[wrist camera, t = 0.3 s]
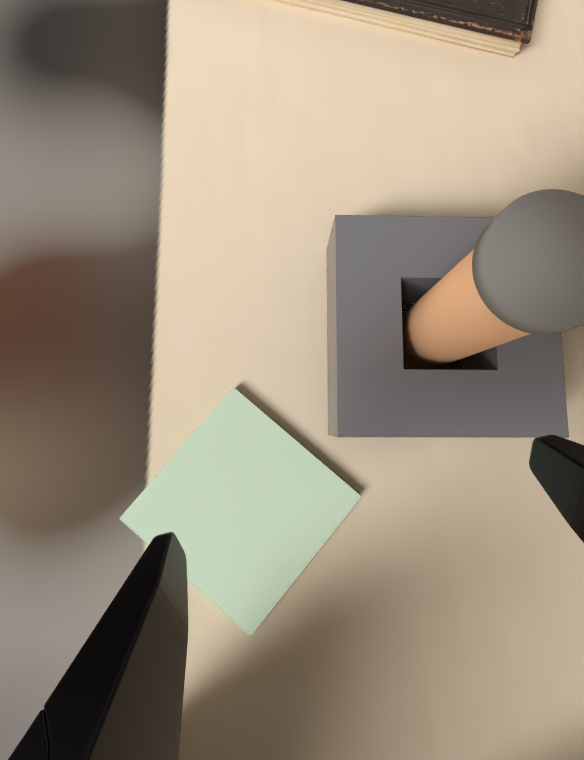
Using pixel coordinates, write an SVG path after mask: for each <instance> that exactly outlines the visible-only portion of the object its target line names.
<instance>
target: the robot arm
mask: <svg viewBox="0 0 584 760" xmlns="http://www.w3.org/2000/svg"><path fill="white" fill-rule="evenodd" d="M529 465H530V469H531V471H532V473H533V474H534V476H535V477H536V478H537V480H538V481H539V483H540V484H541V486H542V487H543V488H544V490H545V491H546V493H547V494H548V496H549V497H550V499H551V500H552V501H553V503H554V504H555V506H556V507H557V509H558V510H559V511H560V513H561V514H562V516H563V517H564V519H565V520H566V521H567V523H568V524H569V525H570V527H571V528H572V529H573V530H574V532H575V533H576V534H577V535H578V537H579V538H580V539H581V540H582V541H583V542H584V445H581V444H579V443H576V442H573V441H570V440H567V439H565V438H562V437H559V436H556V435H552V434H551V435H545V436H541V437H537V438H535V440H534V441H533V444H532V449H531V455H530V460H529ZM187 643H188V593H187V560H186V555H185V552H184V550H183V548H182V546H181V544H180V542H179V540H178V539H177V537H176V535H175V533H173V532H167V533H163V534H160V535H157V536H155V537H154V538H153V540H152V541H151V543H150V544H149V546H148V547H147V549H146V550H145V552H144V553H143V555H142V556H141V558H140V559H139V561H138V563H137V564H136V566H135V567H134V569H133V570H132V572H131V573H130V575H129V576H128V578H127V579H126V581H125V582H124V584H123V586H122V587H121V589H120V590H119V592H118V593H117V595H116V596H115V598H114V599H113V601H112V602H111V604H110V605H109V607H108V609H107V610H106V612H105V613H104V615H103V616H102V618H101V619H100V621H99V622H98V624H97V625H96V627H95V629H94V630H93V631H92V633H91V635H90V636H89V638H88V639H87V641H86V642H85V644H84V645H83V647H82V648H81V650H80V651H79V653H78V654H77V656H76V657H75V659H74V661H73V662H72V663H71V665H70V667H69V668H68V670H67V671H66V673H65V674H64V676H63V677H62V679H61V680H60V682H59V683H58V685H57V686H56V688H55V690H54V691H53V693H52V694H51V696H50V697H49V699H48V700H47V702H46V703H45V705H44V710H41V711H40V712H39V714H38V715H37V717H36V718H35V720H34V721H33V723H32V724H31V726H30V727H29V729H28V730H27V732H26V734H25V735H24V737H23V738H22V740H21V741H20V742H19V744H18V745H17V747H16V748H15V750H14V752H13V753H12V754H11V756H10V757H9V759H8V760H178V756H179V743H180V731H181V718H182V705H183V693H184V680H185V668H186V655H187Z"/></svg>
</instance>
